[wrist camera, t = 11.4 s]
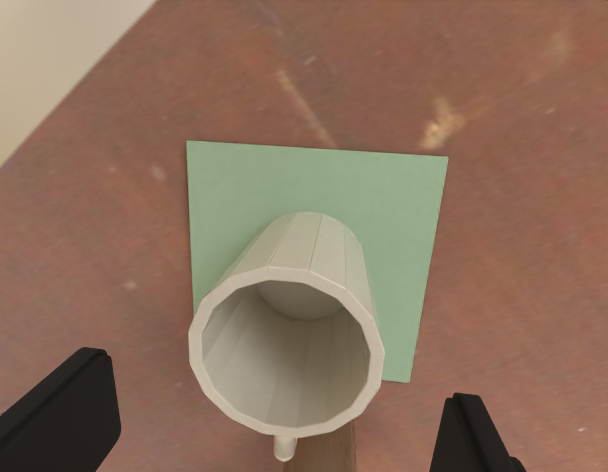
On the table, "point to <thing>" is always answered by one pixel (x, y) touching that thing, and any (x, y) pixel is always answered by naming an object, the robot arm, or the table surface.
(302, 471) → the wooden block
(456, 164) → the table surface
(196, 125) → the table surface
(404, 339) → the mat
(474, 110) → the table surface
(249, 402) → the mug
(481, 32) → the table surface
